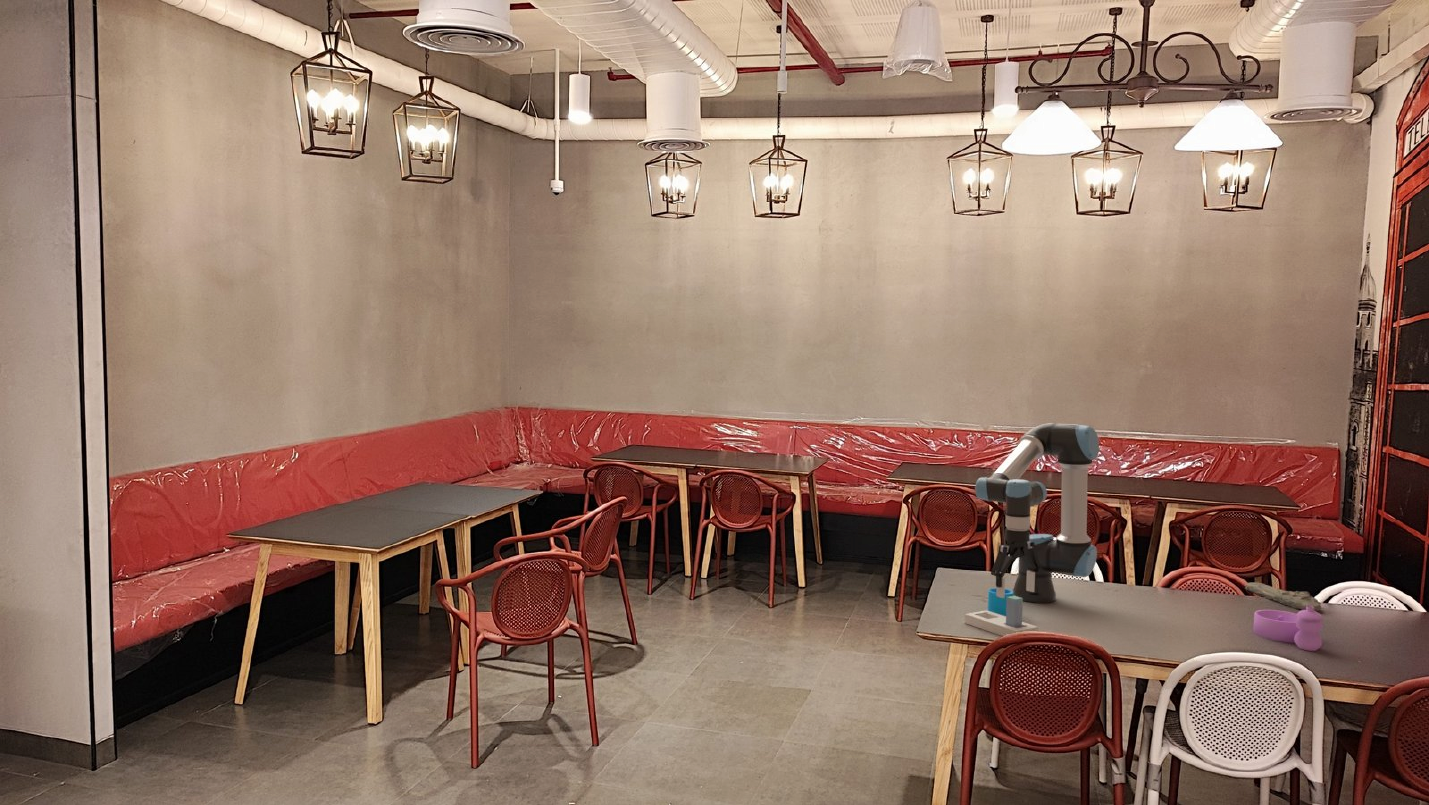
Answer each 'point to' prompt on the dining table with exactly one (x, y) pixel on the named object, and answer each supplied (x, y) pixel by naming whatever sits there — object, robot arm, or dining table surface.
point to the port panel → (995, 623)
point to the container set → (1290, 627)
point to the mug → (998, 601)
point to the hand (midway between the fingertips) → (1015, 594)
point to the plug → (1014, 611)
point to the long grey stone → (1285, 596)
